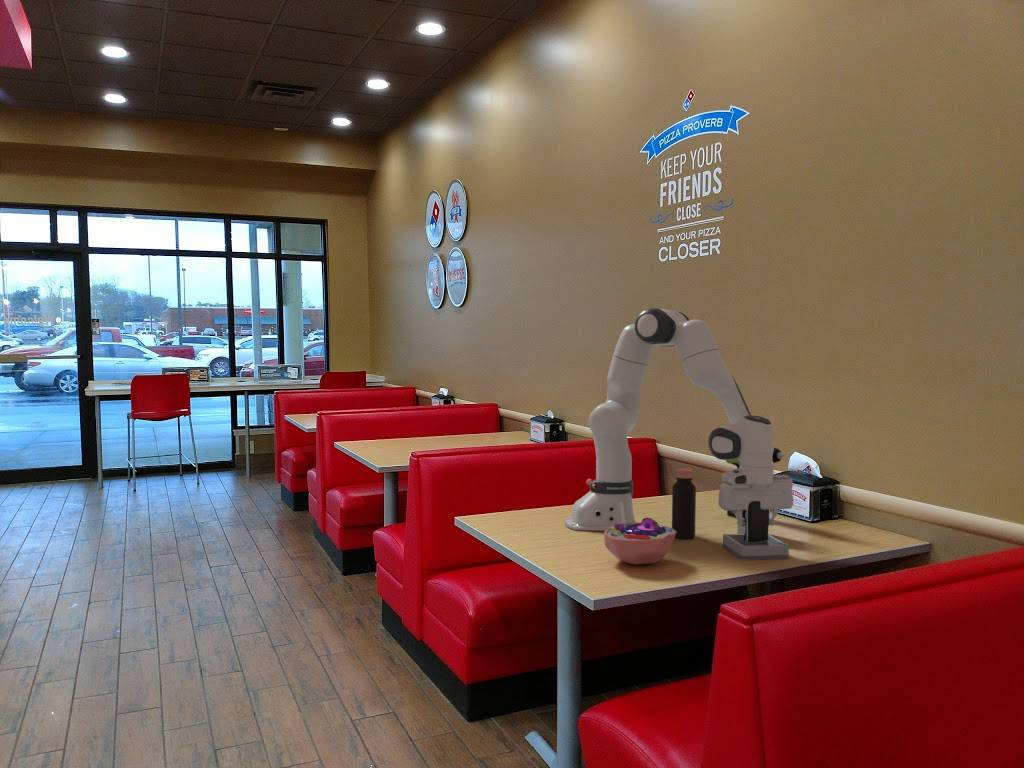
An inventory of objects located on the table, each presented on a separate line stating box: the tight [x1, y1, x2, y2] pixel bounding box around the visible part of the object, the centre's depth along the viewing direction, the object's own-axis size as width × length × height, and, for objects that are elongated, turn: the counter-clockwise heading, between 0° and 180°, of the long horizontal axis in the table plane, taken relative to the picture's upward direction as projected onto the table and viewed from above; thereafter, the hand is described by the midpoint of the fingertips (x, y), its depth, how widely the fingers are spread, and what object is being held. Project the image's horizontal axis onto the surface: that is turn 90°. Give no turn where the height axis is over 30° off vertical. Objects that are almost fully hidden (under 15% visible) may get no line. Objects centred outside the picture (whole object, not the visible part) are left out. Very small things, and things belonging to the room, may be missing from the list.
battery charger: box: [742, 501, 770, 542], centre depth 206 cm, size 7×4×11 cm, turn 111°
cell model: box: [603, 517, 676, 566], centre depth 197 cm, size 17×20×11 cm
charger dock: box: [722, 533, 790, 561], centre depth 206 cm, size 13×13×4 cm
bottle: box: [671, 468, 697, 540], centre depth 222 cm, size 7×7×20 cm
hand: (755, 525), depth 206 cm, fingers closed on battery charger, 7 cm apart
